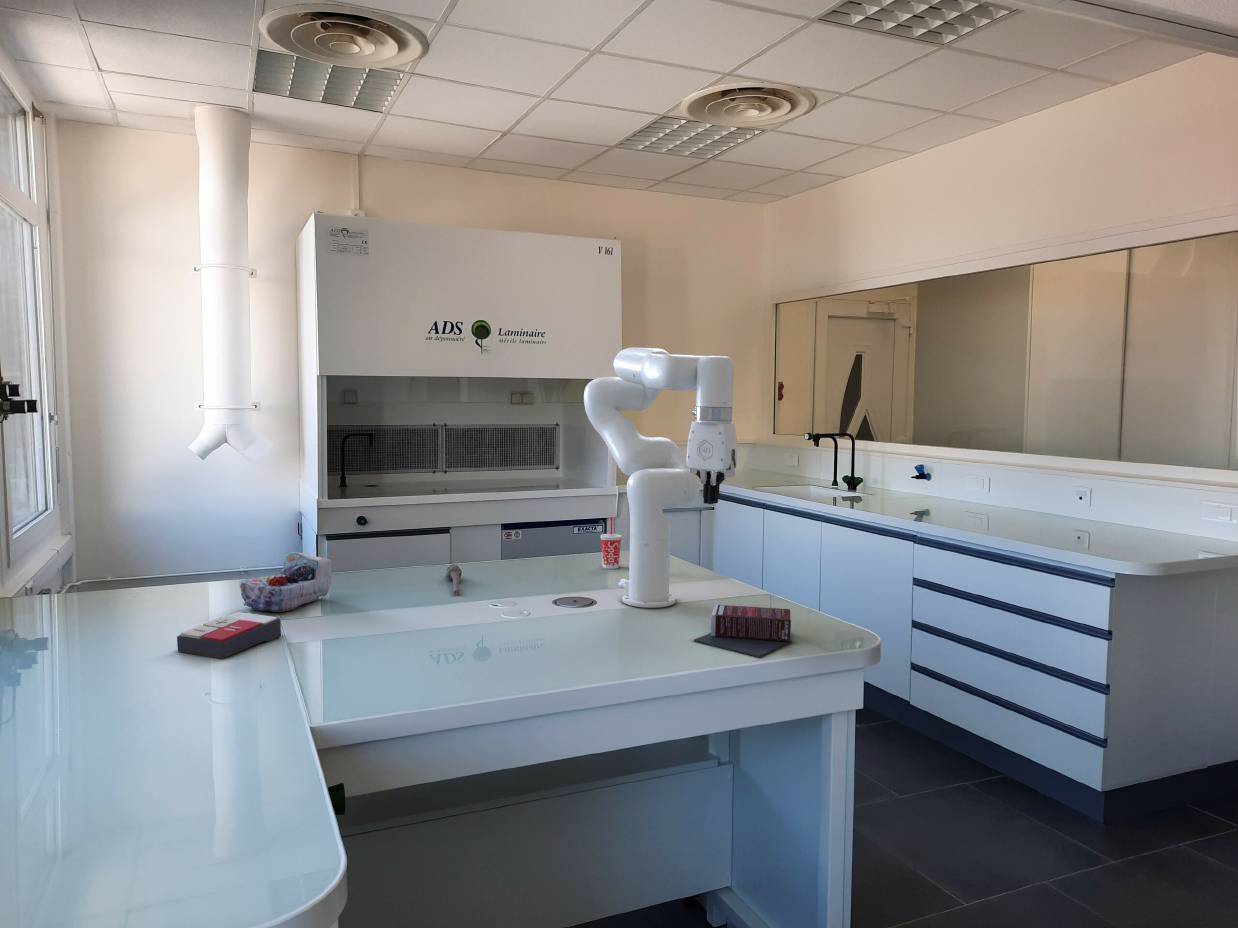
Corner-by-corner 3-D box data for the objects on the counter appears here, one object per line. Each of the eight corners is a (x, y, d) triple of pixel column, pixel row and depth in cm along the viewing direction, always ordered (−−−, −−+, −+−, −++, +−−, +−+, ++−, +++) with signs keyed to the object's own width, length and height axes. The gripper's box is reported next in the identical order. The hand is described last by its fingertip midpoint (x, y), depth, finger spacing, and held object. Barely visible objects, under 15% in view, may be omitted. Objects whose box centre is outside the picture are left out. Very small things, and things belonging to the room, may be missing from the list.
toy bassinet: (338, 551, 195) (277, 570, 176) (339, 596, 196) (278, 620, 177) (293, 546, 199) (228, 564, 181) (294, 590, 200) (230, 613, 182)
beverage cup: (597, 568, 233) (598, 518, 231) (601, 564, 239) (602, 515, 237) (619, 569, 232) (620, 519, 230) (623, 565, 238) (624, 516, 236)
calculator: (175, 632, 154) (237, 608, 168) (176, 654, 155) (238, 629, 169) (221, 639, 151) (281, 614, 165) (223, 662, 151) (282, 635, 165)
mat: (693, 641, 167) (693, 639, 167) (728, 627, 177) (728, 625, 177) (759, 657, 158) (759, 655, 158) (792, 642, 168) (792, 640, 168)
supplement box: (710, 637, 169) (790, 642, 166) (711, 614, 169) (791, 618, 166) (714, 625, 178) (790, 630, 175) (714, 603, 177) (790, 607, 174)
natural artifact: (454, 579, 222) (463, 566, 222) (456, 596, 200) (466, 583, 200) (442, 571, 221) (451, 558, 221) (443, 588, 199) (453, 574, 199)
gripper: (674, 414, 175) (671, 501, 177) (735, 417, 166) (731, 509, 168) (694, 414, 181) (691, 497, 183) (754, 417, 172) (750, 505, 174)
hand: (710, 503), depth 175 cm, fingers closed
